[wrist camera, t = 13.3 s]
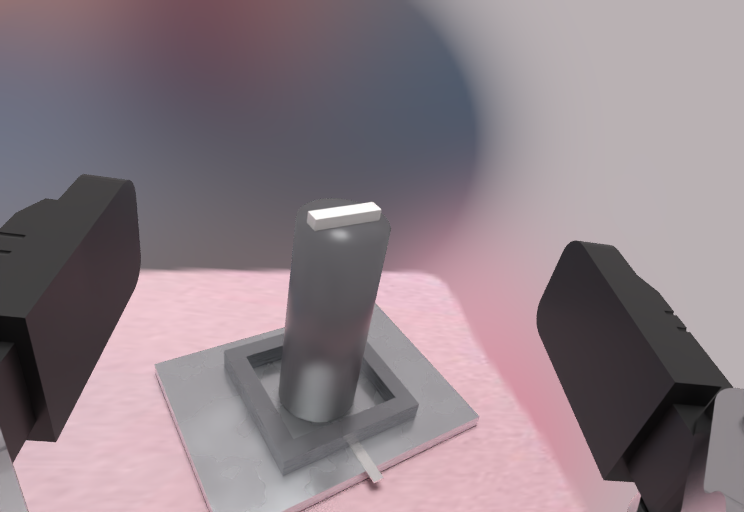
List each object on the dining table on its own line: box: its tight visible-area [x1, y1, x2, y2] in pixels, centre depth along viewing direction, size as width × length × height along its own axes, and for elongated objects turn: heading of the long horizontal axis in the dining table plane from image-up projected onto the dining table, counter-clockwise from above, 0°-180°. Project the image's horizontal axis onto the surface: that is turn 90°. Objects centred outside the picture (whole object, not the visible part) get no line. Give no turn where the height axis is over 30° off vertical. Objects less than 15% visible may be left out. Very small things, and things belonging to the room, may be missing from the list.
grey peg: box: [279, 198, 391, 422], centre depth 29 cm, size 5×5×13 cm
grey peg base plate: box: [155, 303, 479, 512], centre depth 32 cm, size 16×13×2 cm
